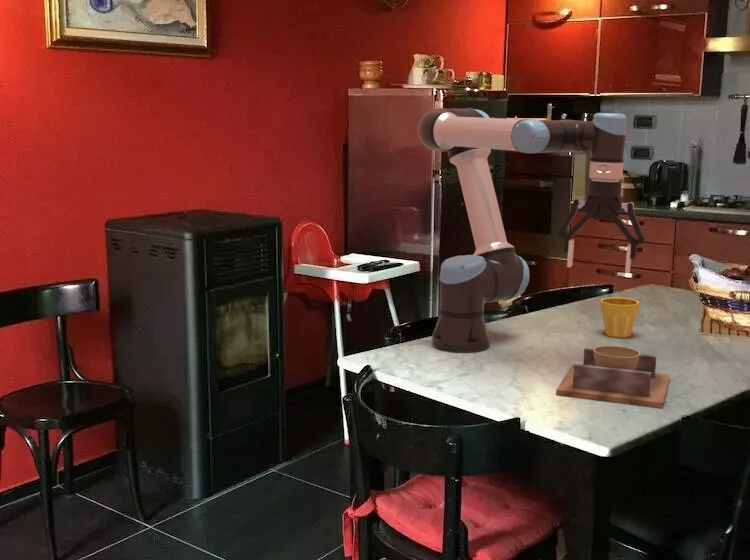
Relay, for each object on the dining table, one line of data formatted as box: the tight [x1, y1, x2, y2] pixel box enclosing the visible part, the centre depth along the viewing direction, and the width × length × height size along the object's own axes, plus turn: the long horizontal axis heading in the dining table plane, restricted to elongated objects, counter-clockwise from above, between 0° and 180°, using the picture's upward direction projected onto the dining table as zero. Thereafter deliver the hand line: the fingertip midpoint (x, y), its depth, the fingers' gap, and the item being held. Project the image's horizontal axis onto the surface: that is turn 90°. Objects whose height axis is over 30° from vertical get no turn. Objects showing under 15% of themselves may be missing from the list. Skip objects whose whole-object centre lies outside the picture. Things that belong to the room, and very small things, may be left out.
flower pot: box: [592, 344, 641, 370], centre depth 191 cm, size 10×10×7 cm
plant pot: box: [599, 297, 640, 339], centre depth 238 cm, size 10×10×10 cm
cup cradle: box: [555, 347, 670, 409], centre depth 191 cm, size 22×22×6 cm
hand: (598, 269), depth 205 cm, fingers open, 13 cm apart
